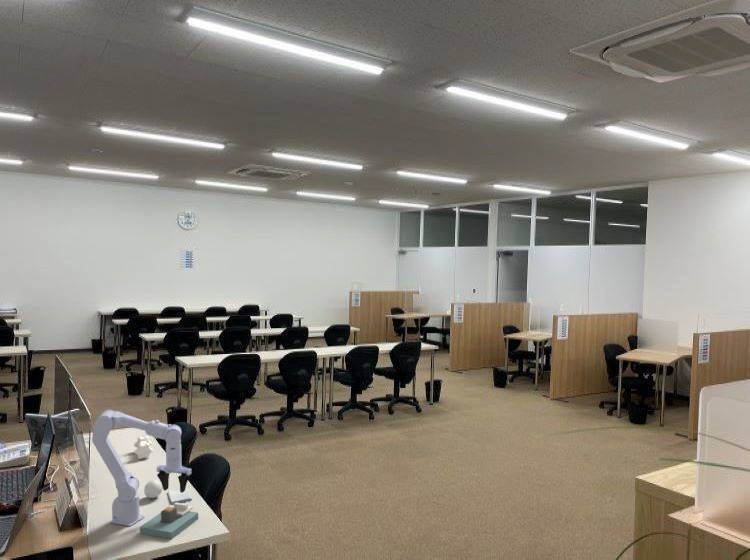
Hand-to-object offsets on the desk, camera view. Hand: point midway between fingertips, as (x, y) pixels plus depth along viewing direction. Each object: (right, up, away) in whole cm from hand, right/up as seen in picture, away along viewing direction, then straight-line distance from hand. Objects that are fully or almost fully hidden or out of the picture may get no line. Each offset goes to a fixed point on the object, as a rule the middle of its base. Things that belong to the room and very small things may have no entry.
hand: (174, 490), depth 215 cm
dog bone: (-41, -8, +66) cm, 78 cm away
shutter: (+3, -7, -2) cm, 8 cm away
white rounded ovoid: (-15, -9, +18) cm, 25 cm away
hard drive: (-4, -10, +17) cm, 20 cm away
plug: (+1, -10, -9) cm, 14 cm away
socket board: (+2, -10, -8) cm, 13 cm away
